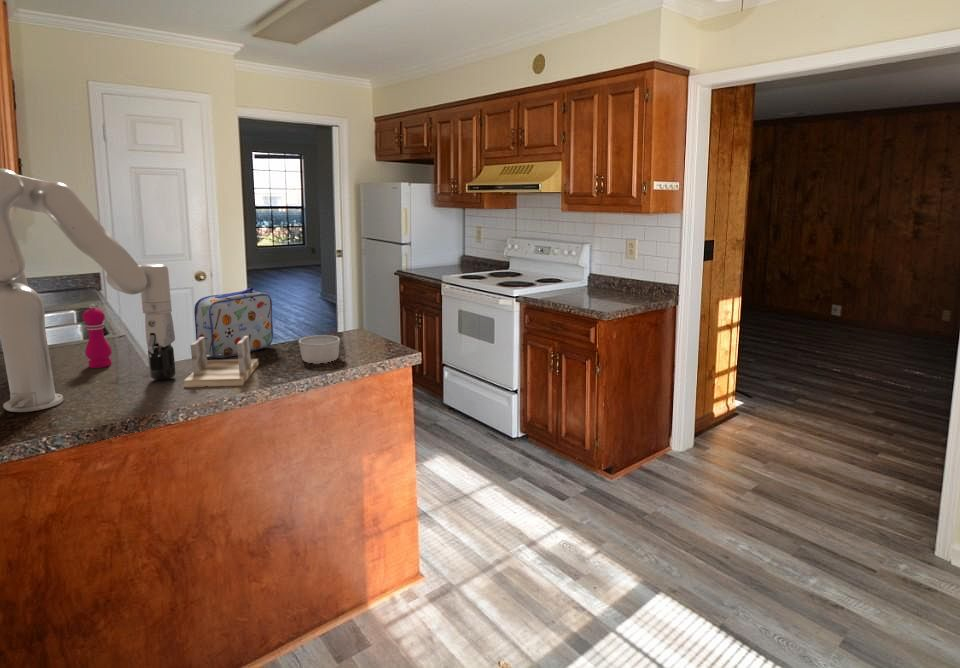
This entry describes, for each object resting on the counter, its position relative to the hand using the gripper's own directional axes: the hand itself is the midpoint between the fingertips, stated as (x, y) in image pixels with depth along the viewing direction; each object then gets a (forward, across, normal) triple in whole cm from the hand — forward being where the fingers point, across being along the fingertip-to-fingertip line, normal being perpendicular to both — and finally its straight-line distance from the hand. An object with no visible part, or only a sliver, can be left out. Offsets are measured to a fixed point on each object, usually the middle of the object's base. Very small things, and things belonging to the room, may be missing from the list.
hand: (162, 366), depth 189 cm
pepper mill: (+5, +18, +25) cm, 32 cm away
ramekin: (+3, +17, -44) cm, 47 cm away
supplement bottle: (+3, 0, 0) cm, 3 cm away
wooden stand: (+4, +2, -17) cm, 17 cm away
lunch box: (+4, +30, -15) cm, 34 cm away
